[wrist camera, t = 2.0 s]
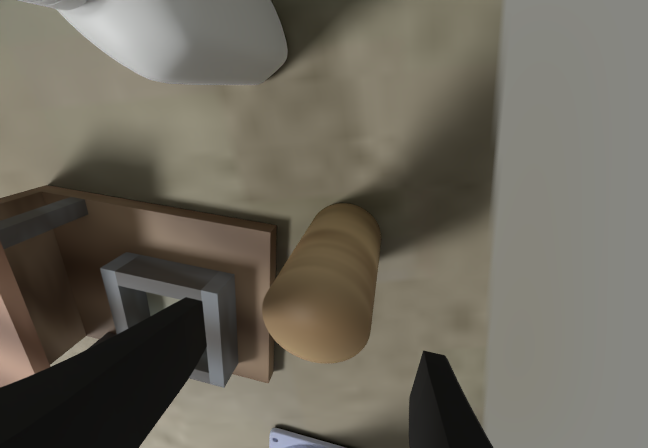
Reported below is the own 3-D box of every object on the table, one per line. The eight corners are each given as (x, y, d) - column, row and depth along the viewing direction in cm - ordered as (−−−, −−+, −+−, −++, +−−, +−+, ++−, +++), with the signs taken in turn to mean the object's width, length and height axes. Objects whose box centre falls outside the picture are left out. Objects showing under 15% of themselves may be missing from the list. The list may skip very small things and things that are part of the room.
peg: (375, 273, 18) (362, 373, 12) (308, 260, 19) (261, 349, 12) (387, 209, 16) (379, 286, 10) (312, 197, 17) (262, 263, 11)
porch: (273, 371, 23) (231, 467, 17) (88, 324, 26) (-2, 394, 20) (276, 225, 18) (218, 291, 12) (47, 185, 21) (-91, 224, 15)
